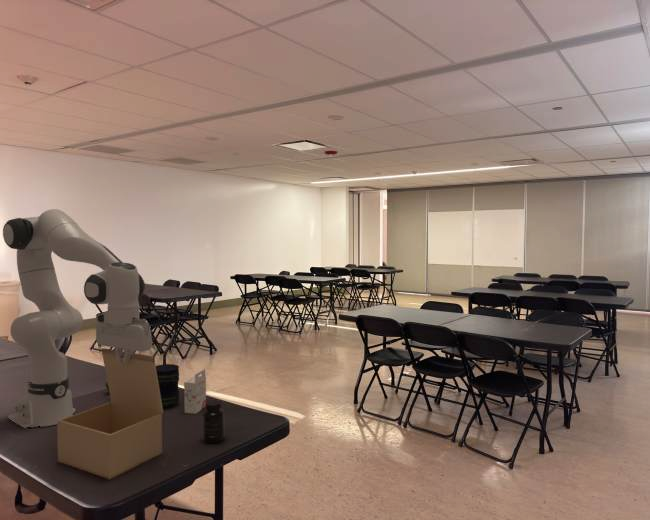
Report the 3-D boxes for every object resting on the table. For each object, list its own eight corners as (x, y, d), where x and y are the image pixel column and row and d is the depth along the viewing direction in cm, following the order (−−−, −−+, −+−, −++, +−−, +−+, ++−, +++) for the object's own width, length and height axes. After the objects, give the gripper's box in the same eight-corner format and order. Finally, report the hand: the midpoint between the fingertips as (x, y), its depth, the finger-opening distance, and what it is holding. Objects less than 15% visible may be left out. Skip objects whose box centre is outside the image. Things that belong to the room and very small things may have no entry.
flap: (101, 349, 147) (103, 348, 147) (111, 401, 150) (113, 400, 151) (152, 357, 137) (154, 356, 137) (161, 413, 141) (163, 412, 141)
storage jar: (148, 410, 177) (148, 370, 177) (157, 401, 187) (157, 364, 187) (174, 410, 177) (174, 370, 177) (182, 401, 187) (182, 364, 187)
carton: (57, 461, 135) (57, 420, 134) (111, 438, 151) (111, 401, 150) (110, 479, 125) (110, 435, 124) (162, 453, 141) (161, 413, 141)
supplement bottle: (204, 435, 154) (204, 399, 154) (225, 434, 155) (225, 398, 154) (200, 444, 147) (200, 406, 147) (222, 443, 148) (222, 406, 148)
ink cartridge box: (194, 405, 183) (194, 367, 182) (206, 406, 182) (206, 368, 181) (183, 413, 174) (183, 373, 174) (196, 414, 173) (196, 374, 173)
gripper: (157, 318, 139) (157, 364, 139) (109, 313, 148) (110, 356, 148) (140, 321, 133) (140, 369, 134) (91, 315, 142) (92, 361, 143)
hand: (123, 362), depth 141 cm, fingers closed, pressing on flap
